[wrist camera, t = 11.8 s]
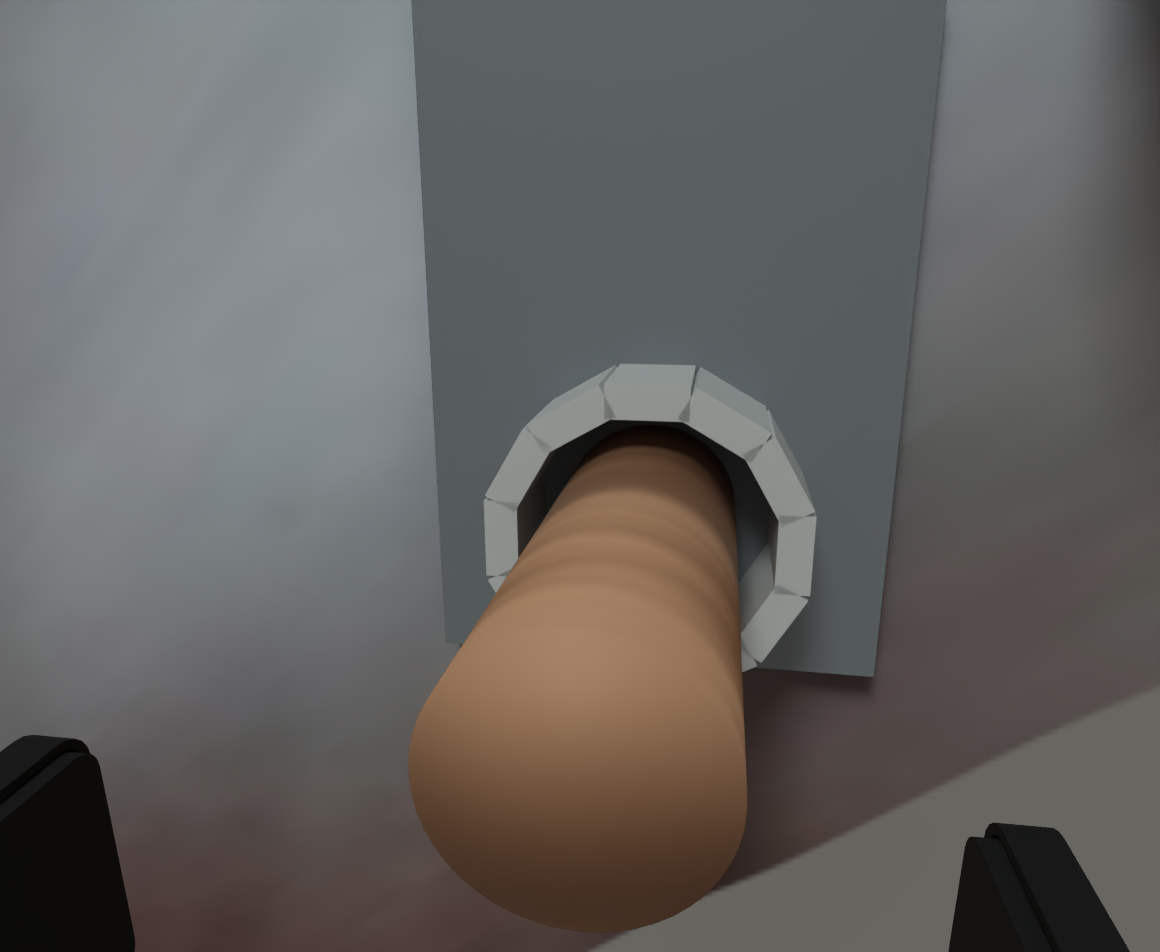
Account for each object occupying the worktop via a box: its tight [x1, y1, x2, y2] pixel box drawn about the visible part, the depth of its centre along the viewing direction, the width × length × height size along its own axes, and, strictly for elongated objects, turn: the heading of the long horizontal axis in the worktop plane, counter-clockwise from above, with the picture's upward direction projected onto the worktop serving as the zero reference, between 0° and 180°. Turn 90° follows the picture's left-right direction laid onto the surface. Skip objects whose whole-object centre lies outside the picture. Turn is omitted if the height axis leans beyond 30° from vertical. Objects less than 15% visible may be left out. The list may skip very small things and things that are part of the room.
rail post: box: [409, 425, 747, 932], centre depth 16 cm, size 4×4×12 cm
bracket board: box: [412, 0, 947, 677], centre depth 20 cm, size 17×12×4 cm
